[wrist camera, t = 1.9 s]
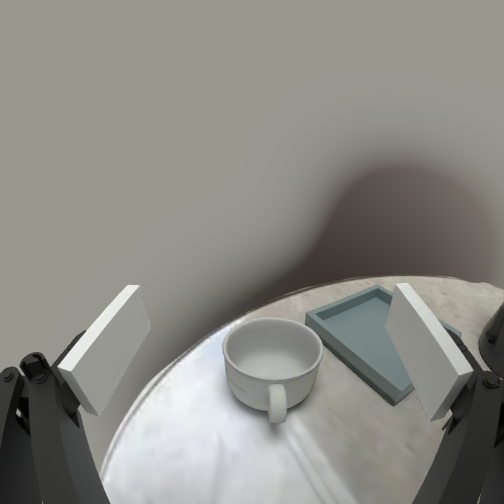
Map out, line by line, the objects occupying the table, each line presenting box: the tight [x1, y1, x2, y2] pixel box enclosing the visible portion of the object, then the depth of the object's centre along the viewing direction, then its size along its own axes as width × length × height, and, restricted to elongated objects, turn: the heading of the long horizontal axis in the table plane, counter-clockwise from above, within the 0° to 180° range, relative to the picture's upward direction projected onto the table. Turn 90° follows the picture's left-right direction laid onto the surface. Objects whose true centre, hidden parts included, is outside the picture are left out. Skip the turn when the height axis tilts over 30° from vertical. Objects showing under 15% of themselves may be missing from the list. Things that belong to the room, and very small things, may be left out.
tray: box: [305, 284, 462, 406], centre depth 36 cm, size 17×20×3 cm
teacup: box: [222, 317, 323, 424], centre depth 28 cm, size 14×11×8 cm
